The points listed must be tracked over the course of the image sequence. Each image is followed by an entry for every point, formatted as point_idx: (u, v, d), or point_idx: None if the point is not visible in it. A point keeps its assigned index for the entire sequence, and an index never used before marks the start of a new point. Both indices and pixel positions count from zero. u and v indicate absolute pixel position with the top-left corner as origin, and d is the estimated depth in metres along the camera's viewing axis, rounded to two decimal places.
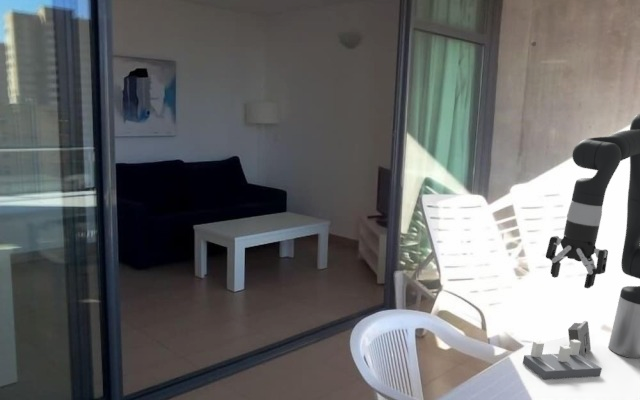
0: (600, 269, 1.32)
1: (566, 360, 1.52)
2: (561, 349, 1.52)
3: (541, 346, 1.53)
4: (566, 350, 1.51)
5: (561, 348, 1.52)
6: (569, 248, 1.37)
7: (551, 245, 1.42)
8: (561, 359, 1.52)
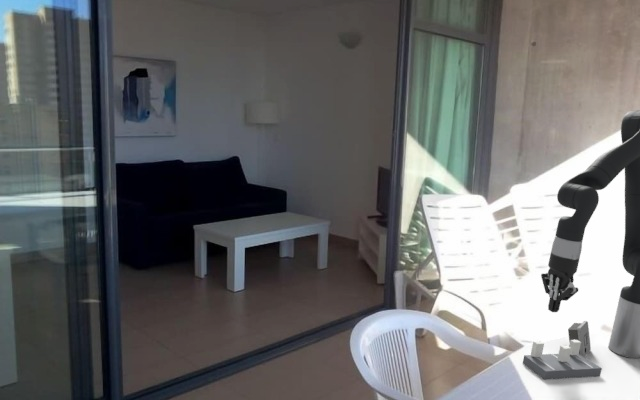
0: None
1: (566, 360, 1.52)
2: (561, 349, 1.52)
3: (541, 346, 1.53)
4: (566, 350, 1.51)
5: (561, 348, 1.52)
6: None
7: None
8: (561, 359, 1.52)
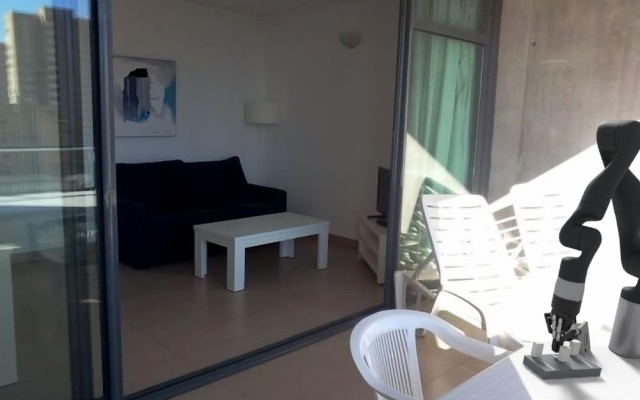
0: None
1: (566, 360, 1.52)
2: (561, 349, 1.52)
3: (541, 346, 1.53)
4: (566, 350, 1.51)
5: (561, 348, 1.52)
6: None
7: None
8: (561, 359, 1.52)
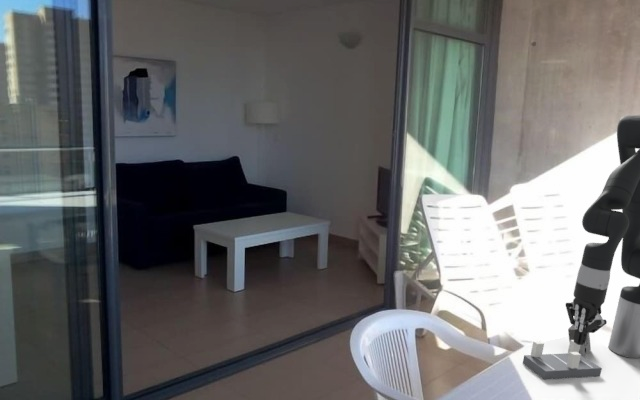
0: None
1: (575, 366, 1.49)
2: (570, 355, 1.49)
3: (541, 346, 1.53)
4: (576, 356, 1.48)
5: (570, 354, 1.49)
6: None
7: None
8: (570, 365, 1.49)
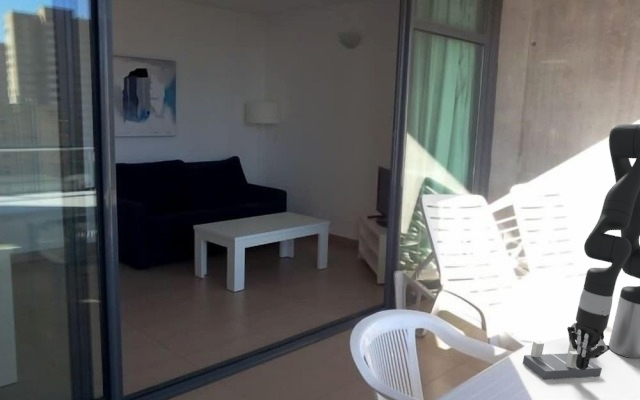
0: None
1: (575, 366, 1.49)
2: (569, 355, 1.49)
3: (541, 346, 1.53)
4: (575, 356, 1.48)
5: (569, 354, 1.49)
6: None
7: None
8: (570, 365, 1.49)
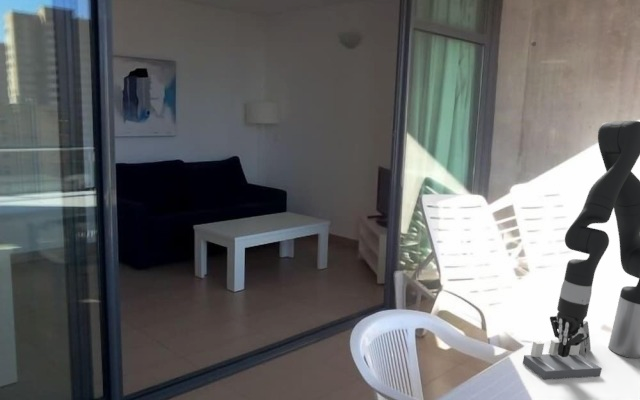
0: None
1: (557, 354, 1.56)
2: (552, 343, 1.56)
3: (541, 346, 1.53)
4: (557, 344, 1.55)
5: (552, 342, 1.56)
6: None
7: None
8: (552, 353, 1.55)
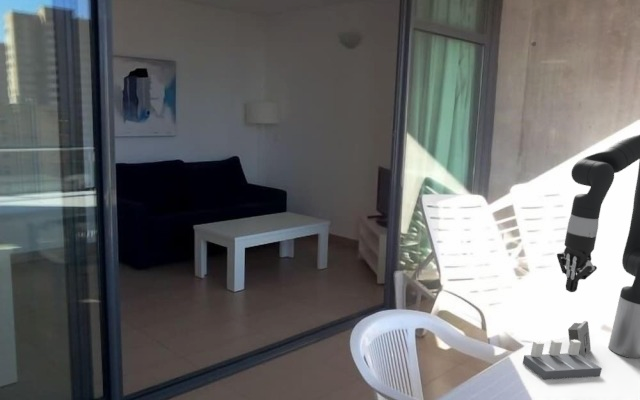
0: None
1: (557, 354, 1.56)
2: (552, 343, 1.55)
3: (541, 346, 1.53)
4: (557, 344, 1.55)
5: (552, 342, 1.55)
6: None
7: None
8: (552, 353, 1.55)
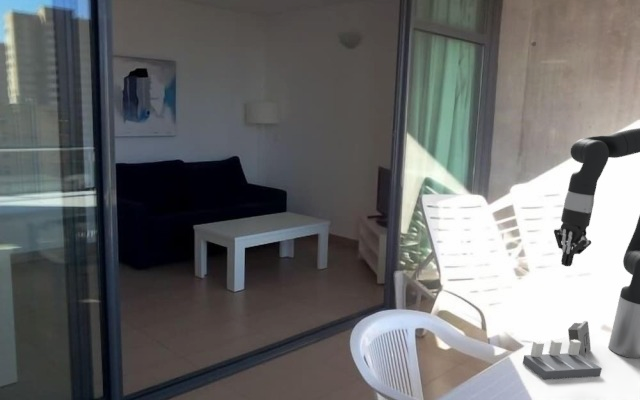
0: None
1: (557, 354, 1.56)
2: (552, 343, 1.55)
3: (541, 346, 1.53)
4: (557, 344, 1.55)
5: (552, 342, 1.55)
6: None
7: None
8: (552, 353, 1.55)
